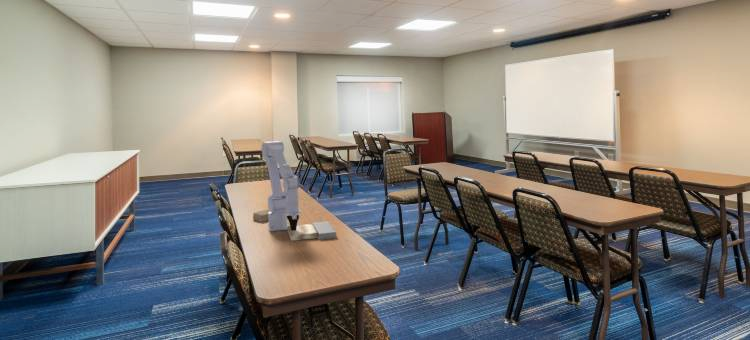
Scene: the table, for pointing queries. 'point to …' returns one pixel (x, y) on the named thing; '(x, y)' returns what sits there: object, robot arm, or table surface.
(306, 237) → the cream flat slab
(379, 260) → the table surface
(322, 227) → the board
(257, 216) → the brick
